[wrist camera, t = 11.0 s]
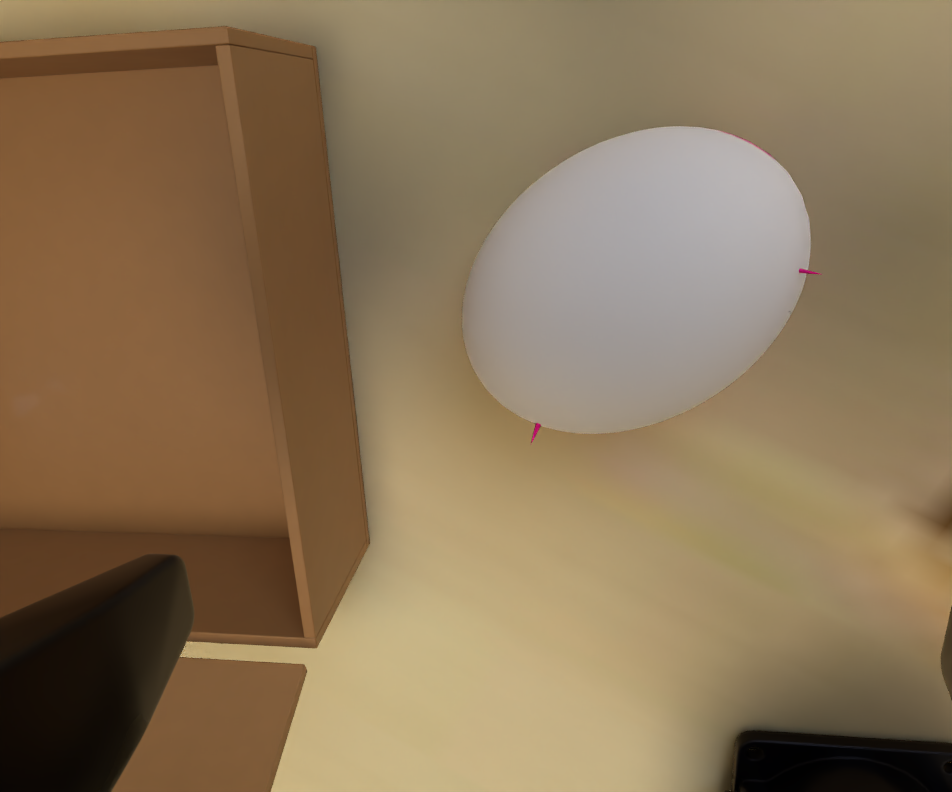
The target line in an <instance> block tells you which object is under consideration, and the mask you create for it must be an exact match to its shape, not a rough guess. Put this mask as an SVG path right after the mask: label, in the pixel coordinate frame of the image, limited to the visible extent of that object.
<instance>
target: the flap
mask: <svg viewBox="0 0 952 792" xmlns="http://www.w3.org/2000/svg"><path fill="white" fill-rule="evenodd" d="M306 673H307V669H306V667H305V665H304V664H287V663H270V662H253V661H236V660H219V659H202V658H184V657H179V659H178V661H177V663H176V666H175V668H174V670H173V672H172V674H171V677H170V679H169V681H168V683H167V686H166V688H165V690H164V692H163V694H162V697H161V699H160V701H159V703H158V705H157V708H156V710H155V712H154V714H153V716H152V719H151V721H150V723H149V725H148V727H147V729H146V731H145V733H144V735H143V737H142V739H141V741H140V743H139V744H138V746H137V748H136V750H135V752H134V754H133V755H132V757H131V759H130V761H129V762H128V764H127V766H126V768H125V769H124V771H123V773H122V775H121V776H120V778H119V780H118V781H117V783H116V785H115V787H114V788H113V790H112V792H271V788H272V785H273V782H274V779H275V775H276V772H277V769H278V765H279V762H280V759H281V756H282V752H283V749H284V746H285V742H286V739H287V736H288V733H289V729H290V726H291V723H292V719H293V716H294V713H295V709H296V706H297V703H298V700H299V696H300V693H301V690H302V686H303V683H304V680H305V677H306Z"/></svg>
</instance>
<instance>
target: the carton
mask: <svg viewBox="0 0 952 792" xmlns="http://www.w3.org/2000/svg"><path fill="white" fill-rule="evenodd" d="M369 544H370V542H369V532H368V523H367V514H366V505H365V496H364V487H363V477H362V468H361V459H360V450H359V441H358V431H357V422H356V413H355V404H354V395H353V386H352V376H351V367H350V358H349V349H348V340H347V330H346V321H345V312H344V303H343V294H342V285H341V275H340V266H339V257H338V248H337V239H336V229H335V220H334V211H333V202H332V193H331V184H330V174H329V165H328V156H327V147H326V138H325V128H324V119H323V110H322V101H321V92H320V83H319V73H318V64H317V55H316V47H315V46H310V45H306V44H302V43H297V42H293V41H289V40H284V39H280V38H276V37H271V36H267V35H262V34H258V33H254V32H249V31H245V30H241V29H236V28H232V27H227V26H221V27H207V28H193V29H178V30H164V31H150V32H135V33H121V34H107V35H92V36H78V37H64V38H49V39H35V40H21V41H6V42H0V618H1V617H3V616H5V615H7V614H10V613H12V612H14V611H17V610H19V609H21V608H24V607H26V606H28V605H30V604H33V603H35V602H37V601H40V600H42V599H44V598H47V597H49V596H51V595H53V594H56V593H58V592H60V591H63V590H65V589H67V588H70V587H72V586H74V585H76V584H79V583H81V582H83V581H86V580H88V579H90V578H93V577H95V576H97V575H99V574H102V573H104V572H106V571H109V570H111V569H113V568H116V567H118V566H120V565H122V564H125V563H127V562H129V561H132V560H134V559H136V558H139V557H141V556H143V555H146V554H151V553H153V554H173V555H178V556H179V557H181V558H182V559H183V561H184V563H185V566H186V570H187V575H188V580H189V585H190V590H191V595H192V600H193V605H194V623H193V627H192V630H191V633H190V635H189V637H188V639H187V641H193V642H211V643H229V644H247V645H265V646H283V647H302V648H317V647H318V645H319V643H320V641H321V639H322V637H323V635H324V633H325V631H326V629H327V627H328V625H329V623H330V621H331V619H332V617H333V615H334V613H335V611H336V609H337V607H338V605H339V603H340V601H341V599H342V597H343V595H344V593H345V591H346V589H347V587H348V585H349V583H350V581H351V580H352V578H353V576H354V574H355V572H356V570H357V568H358V566H359V564H360V562H361V560H362V558H363V556H364V554H365V552H366V550H367V548H368V546H369Z"/></svg>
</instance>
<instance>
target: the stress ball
mask: <svg viewBox="0 0 952 792" xmlns="http://www.w3.org/2000/svg"><path fill="white" fill-rule="evenodd" d="M810 251H811V236H810V222H809V217H808V214H807V211H806V207H805V204H804V201H803V197H802V195H801V193H800V191H799V190H798V188H797V186H796V185H795V183H794V181H793V180H792V178H791V176H790V175H789V173H788V172H787V171H786V170H785V169H784V168H783V167H782V166H781V165H780V164H779V163H778V162H777V161H776V160H775V159H774V158H773V157H772V156H771V155H770V154H769V153H767V152H766V151H764V150H763V149H761V148H759V147H758V146H756V145H754V144H753V143H751V142H750V141H748V140H745V139H743V138H740V137H738V136H735V135H732V134H729V133H726V132H722V131H719V130H714V129H708V128H702V127H688V126H671V127H658V128H651V129H645V130H640V131H635V132H631V133H627V134H624V135H620V136H617V137H614V138H611V139H608V140H606V141H603V142H600V143H598V144H596V145H593V146H591V147H589V148H587V149H585V150H582V151H581V152H579V153H577V154H575V155H573V156H572V157H570V158H568V159H566V160H564V161H563V162H561V163H560V164H558V165H557V166H555V167H554V168H552V169H551V170H549V171H548V172H547V173H545V174H544V175H543V176H542V177H540V178H539V179H538V180H536V181H535V182H534V183H533V184H531V185H530V186H529V187H528V188H527V189H526V190H525V191H524V192H523V193H522V194H521V195H519V196H518V197H517V199H516V200H515V201H514V202H513V203H512V204H511V205H510V206H509V207H508V208H507V209H506V211H505V212H504V213H503V214H502V216H501V217H500V218H499V219H498V221H497V222H496V223H495V225H494V226H493V228H492V229H491V231H490V232H489V234H488V235H487V237H486V239H485V241H484V242H483V244H482V246H481V248H480V250H479V252H478V254H477V256H476V258H475V260H474V263H473V265H472V268H471V270H470V273H469V277H468V280H467V283H466V287H465V293H464V298H463V306H462V332H463V338H464V344H465V349H466V352H467V355H468V357H469V360H470V363H471V365H472V367H473V370H474V372H475V373H476V375H477V376H478V378H479V380H480V381H481V383H482V384H483V386H484V387H485V388H486V390H487V391H488V392H489V393H490V394H491V395H492V396H493V397H494V398H495V399H496V400H497V401H498V402H499V403H500V404H501V405H503V406H504V407H506V408H507V409H509V410H510V411H511V412H513V413H515V414H516V415H518V416H519V417H521V418H523V419H526V420H528V421H530V422H532V423H535V424H536V425H535V429H534V433H533V437H532V441H533V440H534V438H535V436H536V434H537V432H538V430H539V428H540V426H543V427H546V428H550V429H554V430H558V431H564V432H571V433H582V434H603V433H615V432H622V431H628V430H633V429H638V428H642V427H646V426H649V425H652V424H656V423H659V422H662V421H665V420H667V419H670V418H672V417H675V416H677V415H680V414H682V413H684V412H686V411H688V410H690V409H692V408H694V407H696V406H698V405H700V404H702V403H703V402H705V401H707V400H708V399H710V398H712V397H713V396H715V395H716V394H718V393H719V392H721V391H722V390H724V389H725V388H726V387H728V386H729V385H730V384H732V383H733V382H734V381H735V380H737V379H738V378H739V377H740V376H742V375H743V374H744V373H745V372H746V371H747V370H748V369H749V368H750V367H751V366H752V365H753V364H755V362H756V361H757V360H758V359H759V358H760V357H761V356H762V355H763V354H764V353H765V352H766V350H767V349H768V348H769V347H770V346H771V344H772V343H773V342H774V341H775V339H776V338H777V336H778V335H779V334H780V332H781V331H782V329H783V328H784V326H785V324H786V323H787V321H788V319H789V317H790V316H791V314H792V312H793V310H794V308H795V306H796V304H797V302H798V299H799V297H800V295H801V292H802V289H803V286H804V283H805V279H806V276H807V274H820V273H816V272H812V271H808V267H809V260H810ZM532 441H531V443H532Z"/></svg>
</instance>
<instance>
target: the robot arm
mask: <svg viewBox="0 0 952 792" xmlns="http://www.w3.org/2000/svg"><path fill="white" fill-rule="evenodd" d="M193 623H194V605H193V600H192V595H191V590H190V585H189V580H188V575H187V570H186V566H185V563H184V561H183V559H182V558H181V557H179V556H178V555H173V554H153V553H151V554H146V555H143V556H141V557H139V558H136V559H134V560H132V561H129V562H127V563H125V564H122V565H120V566H118V567H116V568H113V569H111V570H109V571H106V572H104V573H102V574H99V575H97V576H95V577H93V578H90V579H88V580H86V581H83V582H81V583H79V584H76V585H74V586H72V587H70V588H67V589H65V590H63V591H60V592H58V593H56V594H53V595H51V596H49V597H47V598H44V599H42V600H40V601H37V602H35V603H33V604H30V605H28V606H26V607H24V608H21V609H19V610H17V611H14V612H12V613H10V614H7V615H5V616H3V617H1V618H0V792H112V790H113V788H114V787H115V785H116V783H117V781H118V780H119V778H120V776H121V775H122V773H123V771H124V769H125V768H126V766H127V764H128V762H129V761H130V759H131V757H132V755H133V754H134V752H135V750H136V748H137V746H138V744H139V743H140V741H141V739H142V737H143V735H144V733H145V731H146V729H147V727H148V725H149V723H150V721H151V719H152V716H153V714H154V712H155V710H156V708H157V705H158V703H159V701H160V699H161V697H162V694H163V692H164V690H165V688H166V686H167V683H168V681H169V679H170V677H171V674H172V672H173V670H174V668H175V666H176V663H177V661H178V659H179V657H180V655H181V652H182V650H183V648H184V646H185V644H186V641H187V639H188V637H189V635H190V633H191V630H192V627H193ZM941 669H942V674H943V677H944V681H945V683H946V686H947V689H948V691H949V694H950V697H951V699H952V607H951V611H950V616H949V620H948V625H947V630H946V634H945V639H944V643H943V648H942V653H941ZM752 747H758V749H756V750H750V748H752ZM949 761H952V744H950V743H936V742H920V741H905V740H890V739H875V738H860V737H844V736H829V735H814V734H799V733H783V732H768V731H746V732H744V733H741V734H740V735H739V736H738V737H737V739H736V742H735V751H734V762H733V773H732V784H731V791H724V792H952V762H951V763H947V762H949Z"/></svg>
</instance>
